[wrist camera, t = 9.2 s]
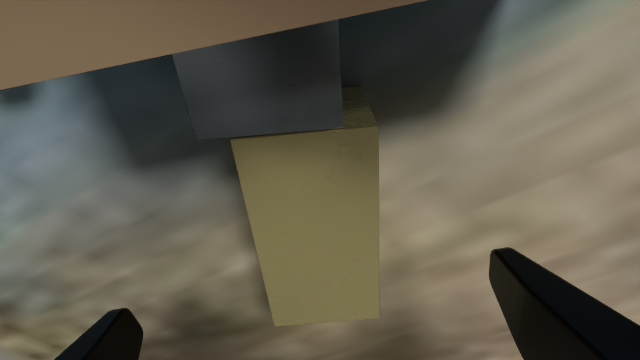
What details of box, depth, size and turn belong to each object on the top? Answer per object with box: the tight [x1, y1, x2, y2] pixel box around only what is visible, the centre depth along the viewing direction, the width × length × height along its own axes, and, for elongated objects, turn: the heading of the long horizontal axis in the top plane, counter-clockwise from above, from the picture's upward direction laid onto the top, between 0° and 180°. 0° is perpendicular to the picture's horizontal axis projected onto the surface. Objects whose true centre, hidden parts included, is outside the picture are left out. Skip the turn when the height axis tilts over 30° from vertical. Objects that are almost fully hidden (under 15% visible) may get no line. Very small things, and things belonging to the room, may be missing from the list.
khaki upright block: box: [230, 86, 380, 326], centre depth 12 cm, size 7×4×4 cm, turn 5°
